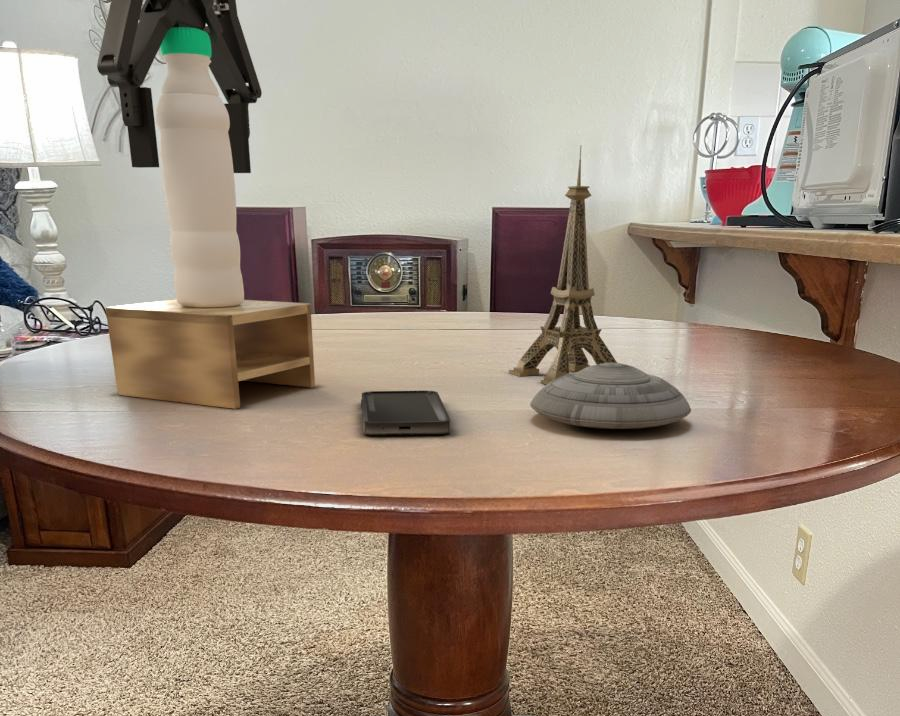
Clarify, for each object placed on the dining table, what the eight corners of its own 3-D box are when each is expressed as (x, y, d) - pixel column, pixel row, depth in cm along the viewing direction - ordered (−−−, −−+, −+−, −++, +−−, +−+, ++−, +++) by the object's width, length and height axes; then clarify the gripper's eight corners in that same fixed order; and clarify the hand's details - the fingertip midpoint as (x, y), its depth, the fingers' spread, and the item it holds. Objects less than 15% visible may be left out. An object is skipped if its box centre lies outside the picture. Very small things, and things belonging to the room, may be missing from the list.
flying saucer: (499, 424, 83) (500, 364, 81) (578, 399, 94) (582, 346, 92) (645, 448, 75) (652, 382, 73) (714, 418, 86) (721, 360, 84)
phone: (436, 390, 92) (451, 421, 78) (436, 401, 93) (451, 433, 79) (360, 391, 91) (361, 422, 78) (360, 402, 92) (362, 435, 78)
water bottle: (168, 308, 91) (135, 22, 81) (186, 301, 98) (158, 36, 88) (237, 308, 91) (212, 22, 81) (250, 302, 98) (229, 36, 88)
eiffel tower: (508, 372, 110) (515, 146, 100) (581, 367, 114) (594, 149, 104) (552, 386, 101) (565, 140, 91) (629, 380, 105) (649, 143, 95)
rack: (117, 394, 96) (105, 307, 92) (205, 375, 107) (197, 296, 103) (235, 409, 89) (226, 315, 85) (315, 386, 101) (310, 303, 97)
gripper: (94, -140, 69) (130, 164, 78) (287, -59, 89) (298, 175, 98) (27, -127, 72) (69, 164, 81) (228, -51, 92) (244, 175, 101)
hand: (195, 170), depth 89 cm, fingers open, 13 cm apart
